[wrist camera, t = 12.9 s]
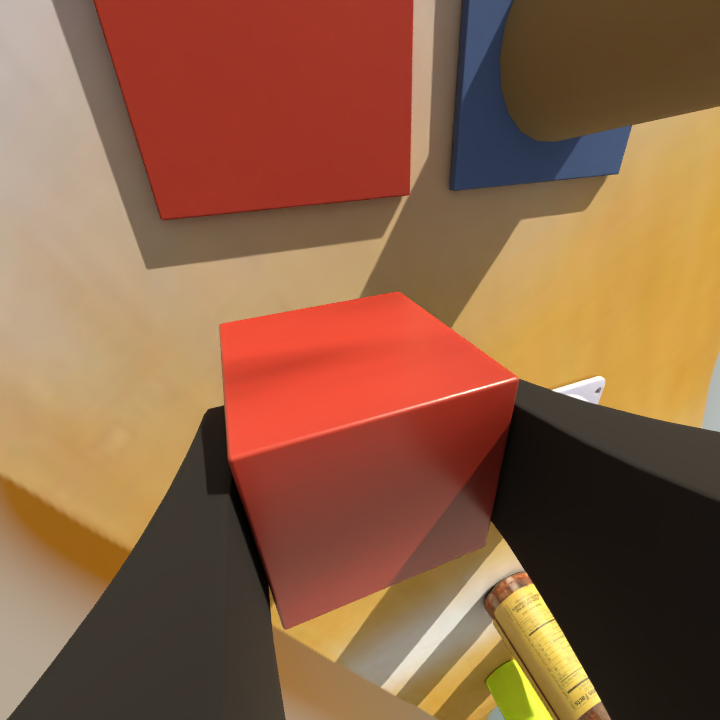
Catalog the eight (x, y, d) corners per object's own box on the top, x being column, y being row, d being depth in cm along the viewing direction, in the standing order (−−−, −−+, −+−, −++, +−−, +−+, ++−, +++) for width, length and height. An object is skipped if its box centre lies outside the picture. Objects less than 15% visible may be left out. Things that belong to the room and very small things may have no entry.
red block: (399, 423, 12) (486, 547, 8) (257, 465, 11) (283, 632, 7) (399, 290, 9) (521, 377, 6) (218, 323, 8) (226, 460, 5)
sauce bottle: (521, 596, 40) (740, 905, 23) (473, 614, 37) (679, 969, 21) (541, 558, 37) (808, 881, 20) (490, 575, 34) (745, 953, 18)
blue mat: (611, 173, 18) (618, 174, 17) (448, 190, 15) (454, 190, 15) (687, -108, 13) (699, -115, 13) (472, -150, 11) (480, -159, 10)
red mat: (405, 194, 15) (410, 195, 14) (162, 218, 12) (161, 220, 12) (410, -162, 10) (417, -172, 10) (22, -238, 8) (14, -254, 7)
